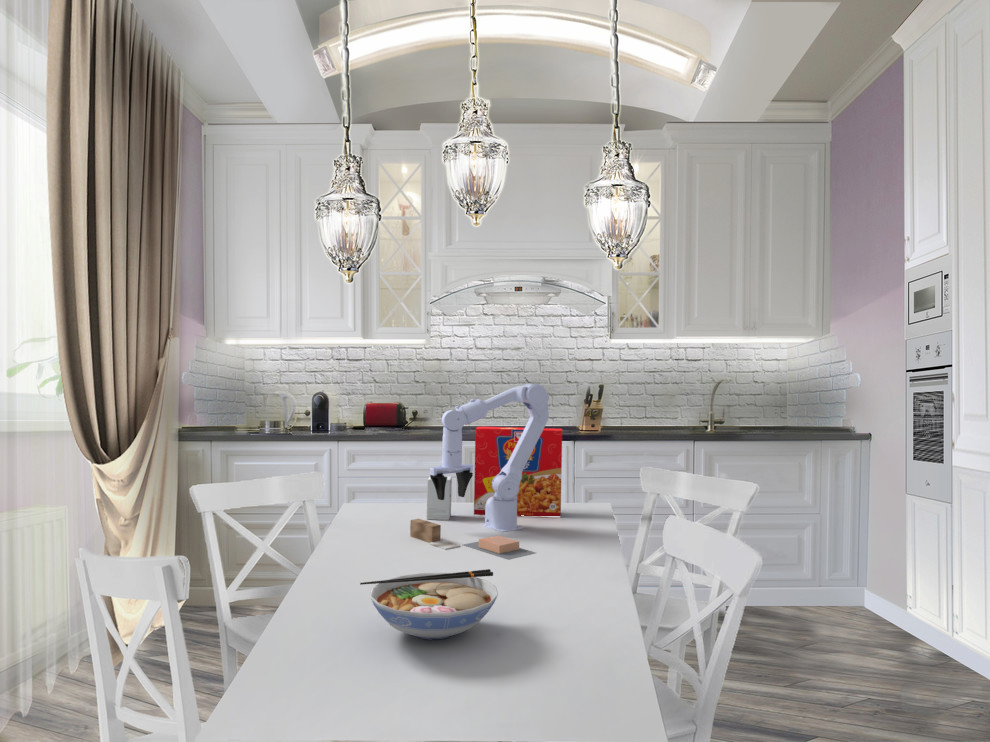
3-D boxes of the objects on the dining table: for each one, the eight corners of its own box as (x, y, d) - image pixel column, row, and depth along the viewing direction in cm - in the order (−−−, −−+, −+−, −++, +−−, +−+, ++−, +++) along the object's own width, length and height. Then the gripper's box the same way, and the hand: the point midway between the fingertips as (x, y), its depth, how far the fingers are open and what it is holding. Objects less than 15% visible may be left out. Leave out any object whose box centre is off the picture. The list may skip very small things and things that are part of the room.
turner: (406, 538, 189) (407, 520, 189) (421, 535, 193) (421, 518, 193) (444, 551, 177) (445, 532, 177) (460, 548, 180) (460, 529, 180)
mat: (461, 546, 182) (461, 544, 182) (489, 540, 189) (489, 539, 189) (508, 561, 169) (508, 559, 169) (536, 554, 175) (536, 552, 175)
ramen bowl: (369, 666, 108) (370, 614, 108) (356, 615, 130) (357, 572, 130) (520, 651, 115) (521, 602, 115) (484, 605, 137) (485, 564, 137)
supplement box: (449, 520, 213) (450, 479, 213) (425, 519, 213) (426, 479, 213) (451, 515, 221) (452, 476, 221) (428, 514, 221) (429, 475, 221)
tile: (478, 539, 179) (499, 545, 173) (498, 535, 184) (519, 541, 178) (478, 547, 179) (499, 554, 173) (498, 543, 184) (519, 549, 178)
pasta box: (473, 514, 222) (475, 428, 222) (476, 509, 230) (478, 426, 230) (560, 518, 220) (562, 430, 220) (560, 512, 228) (562, 428, 228)
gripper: (440, 454, 192) (439, 503, 192) (479, 451, 202) (479, 497, 202) (425, 451, 197) (424, 499, 197) (464, 448, 207) (463, 493, 207)
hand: (451, 498), depth 200 cm, fingers open, 7 cm apart
